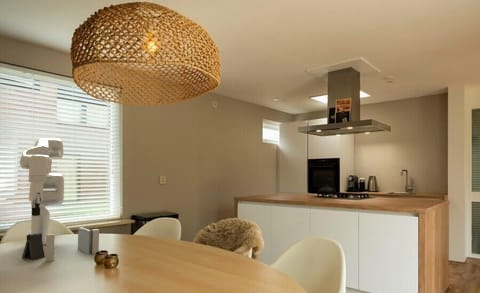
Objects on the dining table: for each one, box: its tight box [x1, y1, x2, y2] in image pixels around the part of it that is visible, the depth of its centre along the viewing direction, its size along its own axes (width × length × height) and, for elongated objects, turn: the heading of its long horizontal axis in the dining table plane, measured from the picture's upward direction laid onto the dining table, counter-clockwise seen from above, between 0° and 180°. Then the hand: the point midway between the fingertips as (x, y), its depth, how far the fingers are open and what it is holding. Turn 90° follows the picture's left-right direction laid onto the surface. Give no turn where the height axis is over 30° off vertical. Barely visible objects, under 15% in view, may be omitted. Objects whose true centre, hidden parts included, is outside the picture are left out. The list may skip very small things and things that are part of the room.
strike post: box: [45, 233, 56, 262], centre depth 161 cm, size 3×3×12 cm
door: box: [77, 226, 92, 255], centre depth 179 cm, size 17×2×13 cm, turn 45°
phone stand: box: [21, 233, 46, 261], centre depth 166 cm, size 9×6×12 cm, turn 65°
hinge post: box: [90, 228, 100, 255], centre depth 174 cm, size 3×3×12 cm
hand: (35, 215), depth 167 cm, fingers closed
